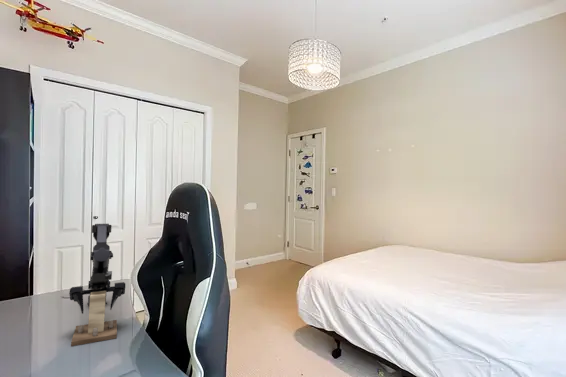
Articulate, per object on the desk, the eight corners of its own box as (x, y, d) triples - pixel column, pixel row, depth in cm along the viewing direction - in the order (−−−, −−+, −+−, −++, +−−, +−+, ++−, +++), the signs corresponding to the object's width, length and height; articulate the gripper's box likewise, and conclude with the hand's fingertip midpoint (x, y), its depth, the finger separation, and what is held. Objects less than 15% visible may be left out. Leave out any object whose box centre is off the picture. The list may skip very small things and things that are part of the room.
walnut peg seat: (75, 329, 116) (76, 319, 116) (116, 323, 123) (117, 313, 123) (71, 346, 103) (71, 334, 104) (116, 338, 110) (117, 327, 110)
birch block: (89, 328, 114) (91, 292, 114) (104, 326, 117) (106, 290, 117) (87, 333, 110) (90, 296, 110) (103, 331, 112) (105, 294, 113)
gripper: (71, 266, 113) (65, 305, 103) (126, 262, 122) (125, 297, 112) (73, 281, 119) (67, 319, 109) (125, 276, 128) (124, 311, 119)
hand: (96, 311), depth 112 cm, fingers open, 9 cm apart
